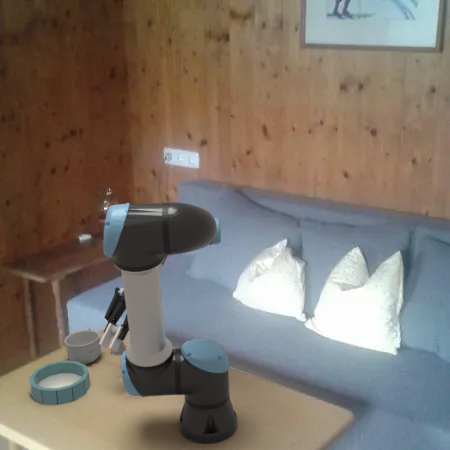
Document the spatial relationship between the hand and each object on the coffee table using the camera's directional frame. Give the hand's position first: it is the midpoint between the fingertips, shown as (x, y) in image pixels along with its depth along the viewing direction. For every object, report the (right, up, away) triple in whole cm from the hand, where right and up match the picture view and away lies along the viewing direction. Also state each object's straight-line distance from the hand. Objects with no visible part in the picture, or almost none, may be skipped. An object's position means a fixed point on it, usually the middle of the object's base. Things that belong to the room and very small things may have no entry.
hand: (107, 347), depth 185 cm
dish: (-15, -14, +9) cm, 22 cm away
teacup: (-11, -8, +26) cm, 30 cm away
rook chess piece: (+2, -2, +4) cm, 5 cm away
